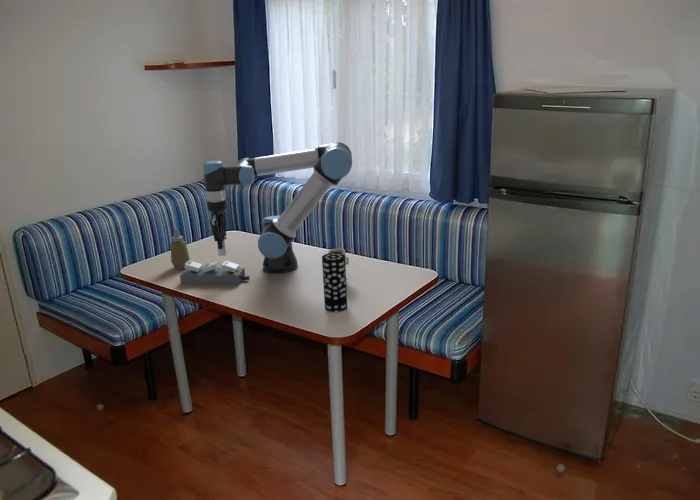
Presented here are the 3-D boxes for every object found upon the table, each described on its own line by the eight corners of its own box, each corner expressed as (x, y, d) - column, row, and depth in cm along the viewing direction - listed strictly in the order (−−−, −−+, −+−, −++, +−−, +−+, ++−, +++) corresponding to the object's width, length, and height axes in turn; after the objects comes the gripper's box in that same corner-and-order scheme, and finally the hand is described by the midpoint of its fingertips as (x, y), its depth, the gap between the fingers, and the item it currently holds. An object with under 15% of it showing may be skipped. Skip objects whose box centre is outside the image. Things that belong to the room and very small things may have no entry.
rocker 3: (238, 268, 245) (239, 264, 245) (234, 272, 241) (235, 268, 240) (224, 264, 245) (225, 260, 245) (221, 268, 241) (222, 264, 240)
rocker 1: (201, 268, 247) (202, 264, 247) (197, 272, 243) (198, 268, 242) (188, 263, 248) (189, 259, 247) (184, 267, 243) (185, 263, 243)
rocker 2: (220, 264, 246) (219, 260, 245) (217, 268, 241) (215, 264, 241) (208, 268, 247) (206, 264, 247) (204, 272, 243) (202, 268, 242)
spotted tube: (347, 302, 220) (344, 252, 214) (347, 311, 212) (345, 260, 206) (325, 303, 220) (322, 253, 213) (324, 312, 212) (321, 261, 206)
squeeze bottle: (185, 271, 257) (180, 232, 251) (169, 270, 259) (163, 231, 253) (193, 264, 265) (188, 226, 259) (177, 264, 266) (172, 226, 260)
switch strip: (252, 276, 248) (251, 265, 246) (245, 284, 240) (244, 273, 238) (189, 275, 252) (187, 264, 250) (181, 283, 244) (179, 272, 242)
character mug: (353, 280, 240) (352, 250, 236) (345, 286, 234) (343, 255, 230) (331, 275, 245) (329, 246, 241) (322, 281, 240) (320, 252, 235)
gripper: (212, 195, 240) (218, 249, 248) (201, 204, 228) (208, 260, 236) (230, 196, 239) (236, 250, 247) (219, 204, 227) (225, 261, 235)
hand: (222, 255), depth 242 cm, fingers closed
